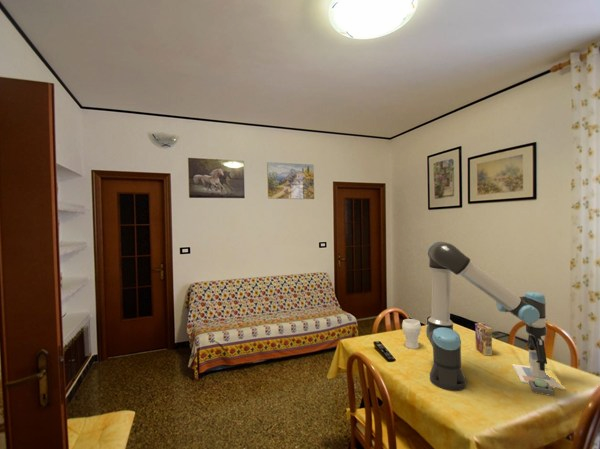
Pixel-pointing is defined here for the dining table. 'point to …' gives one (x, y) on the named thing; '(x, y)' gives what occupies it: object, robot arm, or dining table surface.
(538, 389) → the button housing
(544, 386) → the button
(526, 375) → the picture card
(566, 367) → the dining table surface
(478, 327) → the candy box
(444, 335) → the robot arm
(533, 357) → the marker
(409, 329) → the cup
